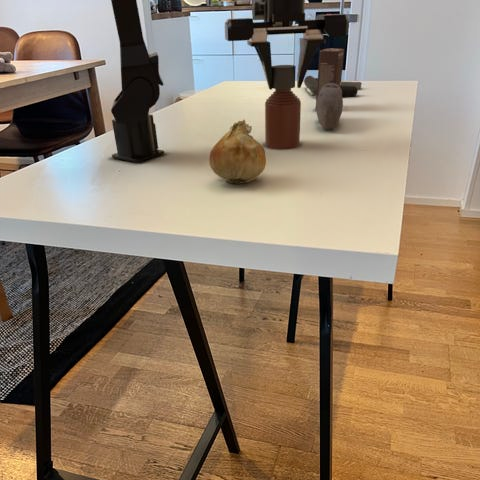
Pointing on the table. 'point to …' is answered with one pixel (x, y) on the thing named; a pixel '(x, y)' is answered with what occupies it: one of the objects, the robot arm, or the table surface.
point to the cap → (283, 76)
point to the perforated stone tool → (329, 105)
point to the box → (329, 68)
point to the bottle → (282, 120)
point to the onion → (238, 155)
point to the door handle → (346, 87)
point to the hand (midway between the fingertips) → (284, 88)
